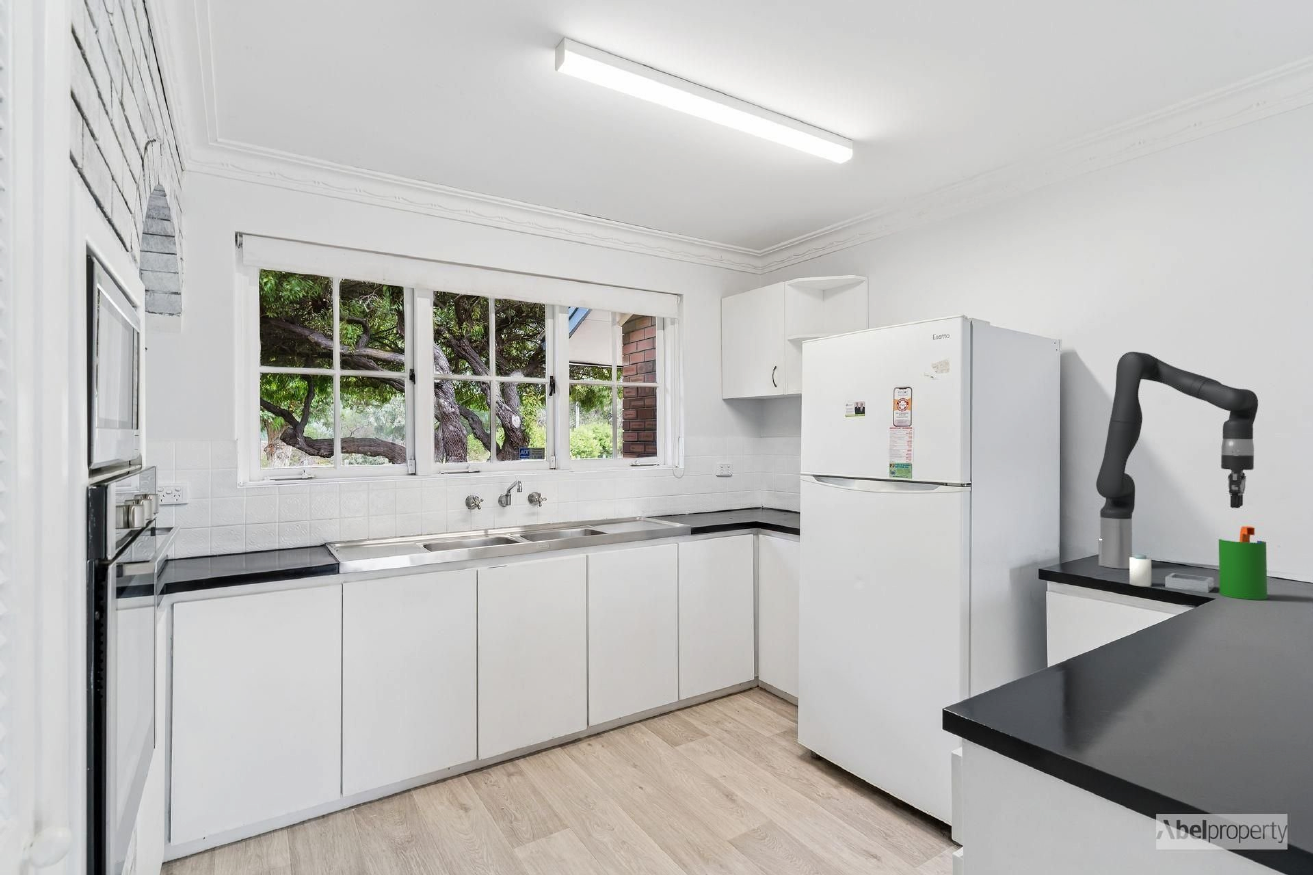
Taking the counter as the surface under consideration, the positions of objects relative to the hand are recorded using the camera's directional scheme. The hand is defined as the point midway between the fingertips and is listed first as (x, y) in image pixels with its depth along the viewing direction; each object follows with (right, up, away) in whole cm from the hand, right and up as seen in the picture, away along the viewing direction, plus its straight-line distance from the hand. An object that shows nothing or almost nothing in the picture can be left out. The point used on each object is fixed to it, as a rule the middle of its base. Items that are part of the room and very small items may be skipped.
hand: (1236, 506), depth 204 cm
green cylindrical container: (-11, -24, -16) cm, 31 cm away
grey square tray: (-17, -24, -3) cm, 30 cm away
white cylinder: (-29, -24, 0) cm, 38 cm away
